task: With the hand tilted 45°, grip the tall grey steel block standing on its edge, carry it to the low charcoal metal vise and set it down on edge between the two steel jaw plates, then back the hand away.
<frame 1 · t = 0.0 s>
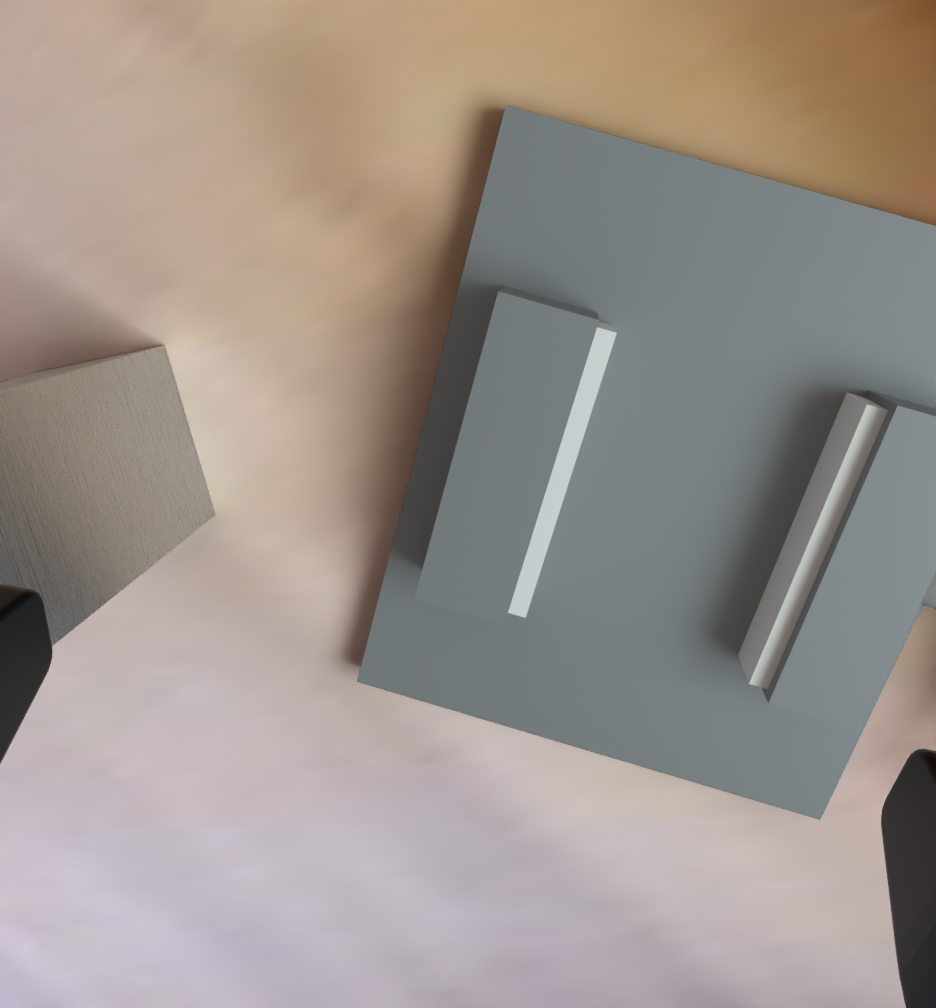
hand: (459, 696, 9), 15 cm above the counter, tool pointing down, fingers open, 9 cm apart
steel block: (126, 444, 25), on the counter
bench vise: (675, 490, 24), on the counter
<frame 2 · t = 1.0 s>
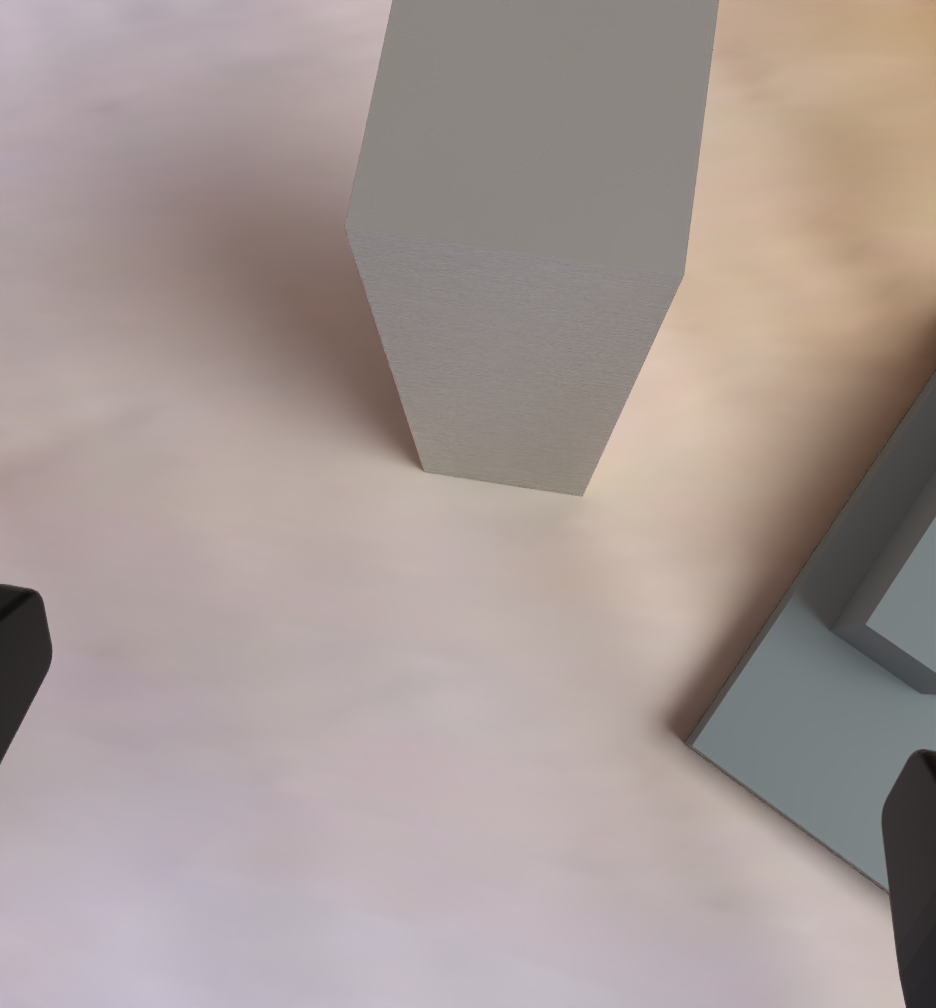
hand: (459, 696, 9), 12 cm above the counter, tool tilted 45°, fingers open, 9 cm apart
steel block: (518, 389, 23), on the counter
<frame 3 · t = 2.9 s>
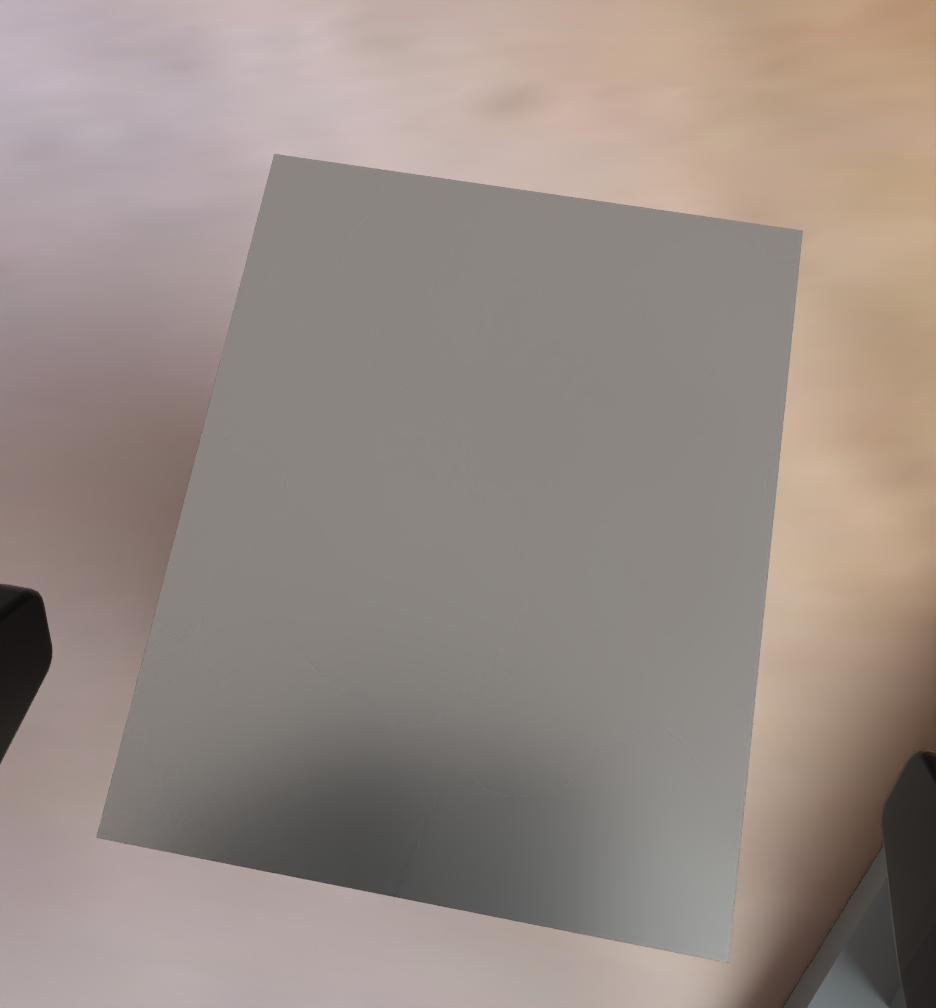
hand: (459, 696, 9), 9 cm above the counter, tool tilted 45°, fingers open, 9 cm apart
steel block: (484, 647, 18), on the counter
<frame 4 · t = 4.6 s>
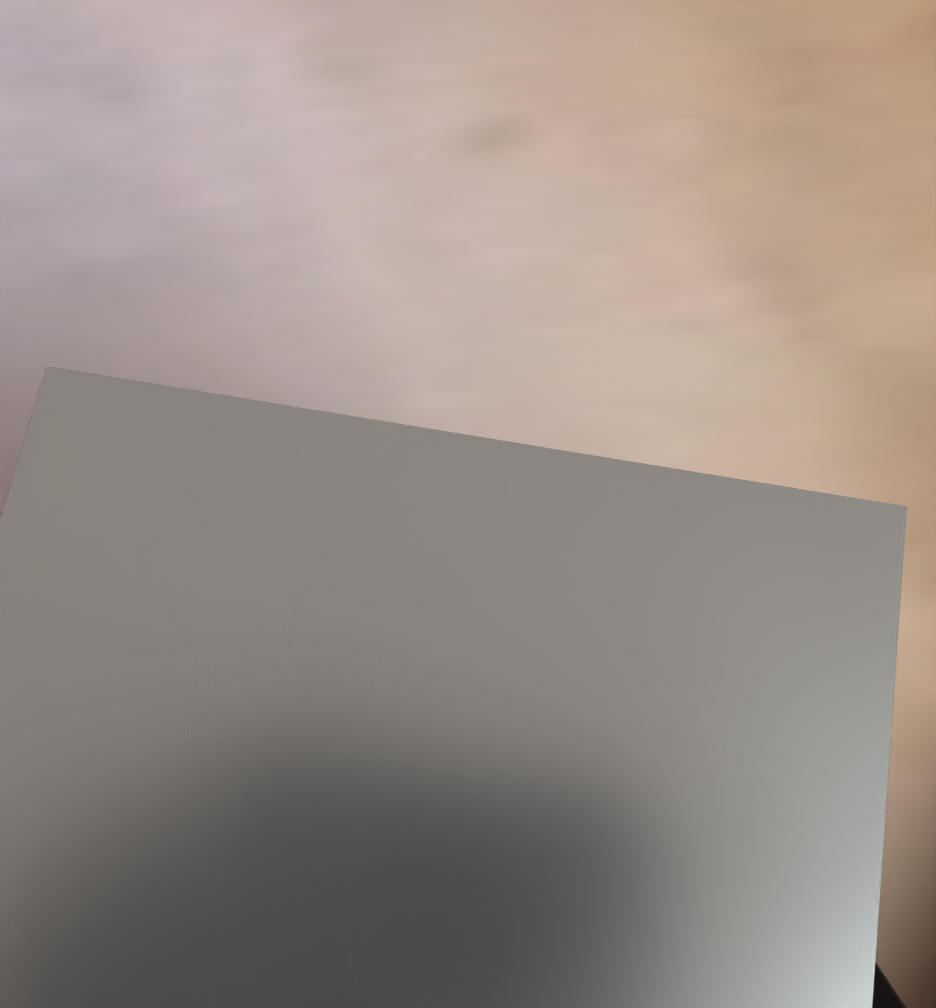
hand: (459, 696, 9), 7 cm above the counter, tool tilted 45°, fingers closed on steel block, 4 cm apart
steel block: (458, 782, 15), on the counter, touching gripper
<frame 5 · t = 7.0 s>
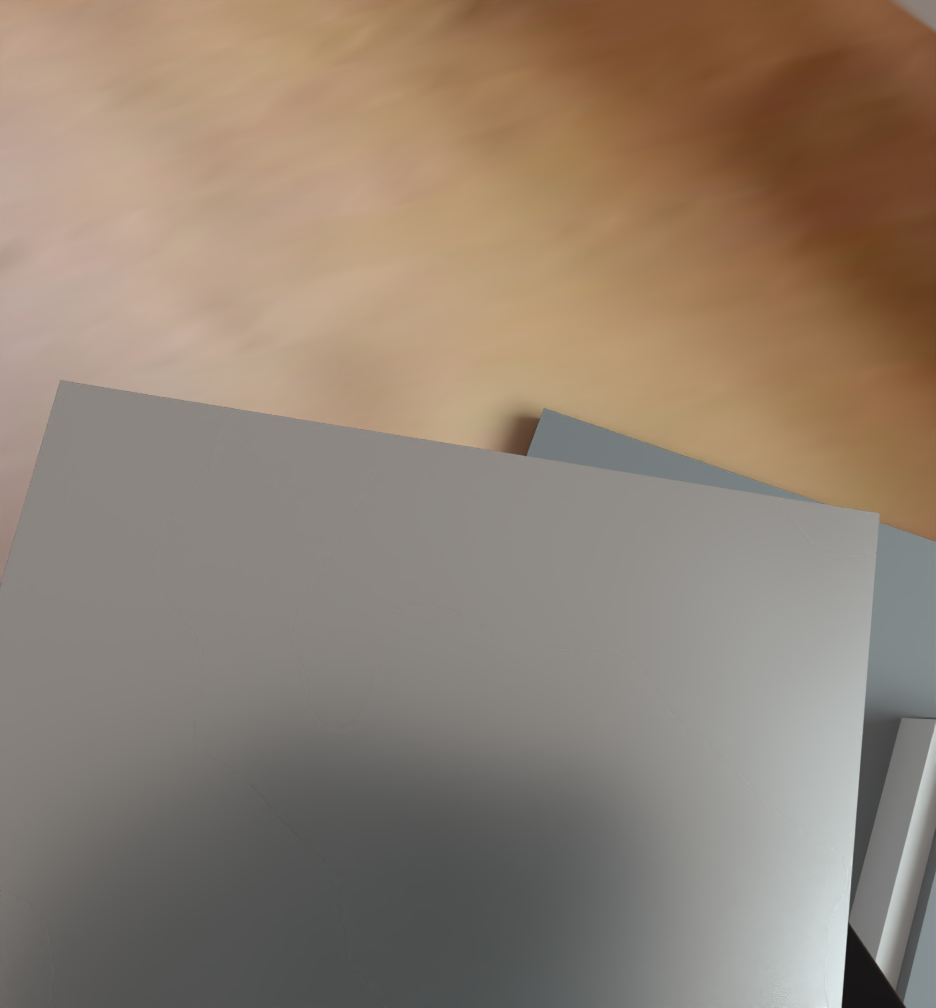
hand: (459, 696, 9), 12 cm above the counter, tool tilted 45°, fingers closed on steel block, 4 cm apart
steel block: (457, 777, 15), point 5 cm above the counter, touching gripper
bench vise: (715, 830, 20), on the counter
when the fingers open (8 cm above the counter, at t = 9.2 s): steel block stays where it is, resting on bench vise.
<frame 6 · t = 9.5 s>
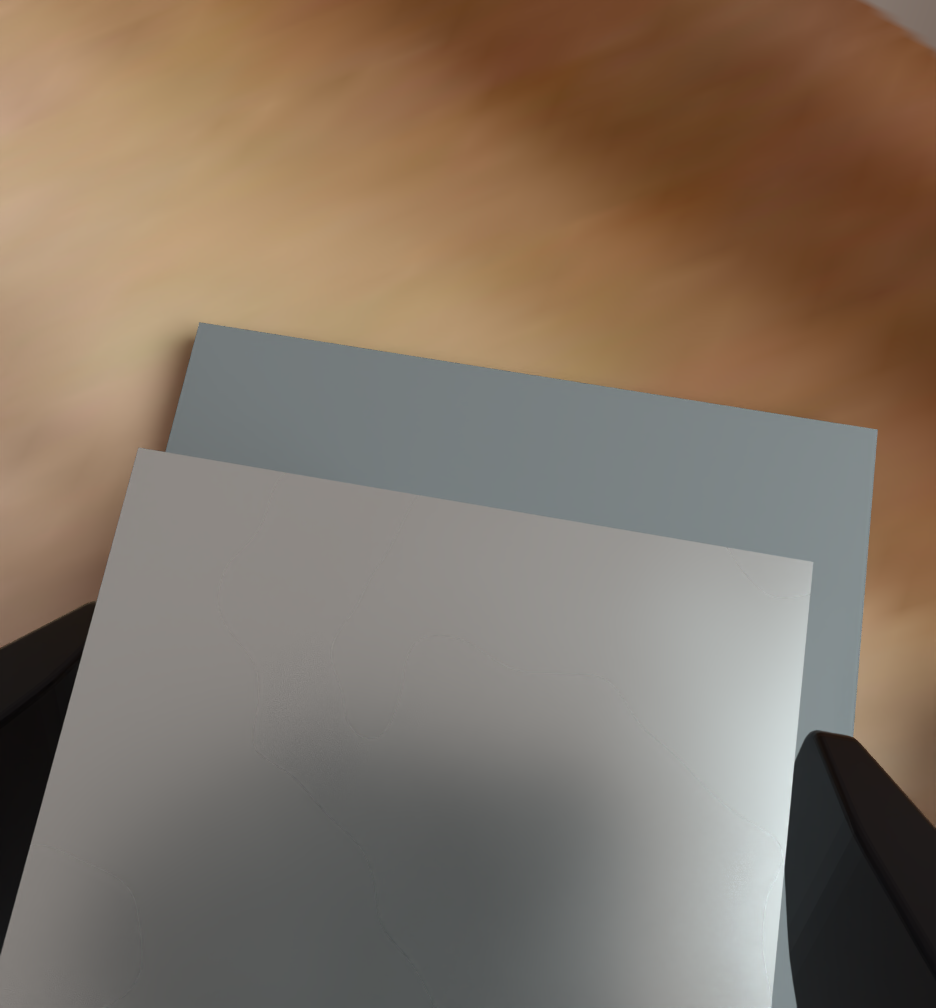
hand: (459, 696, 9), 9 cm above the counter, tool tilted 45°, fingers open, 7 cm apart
steel block: (459, 779, 16), point 1 cm above the counter, touching bench vise
bench vise: (462, 773, 17), on the counter
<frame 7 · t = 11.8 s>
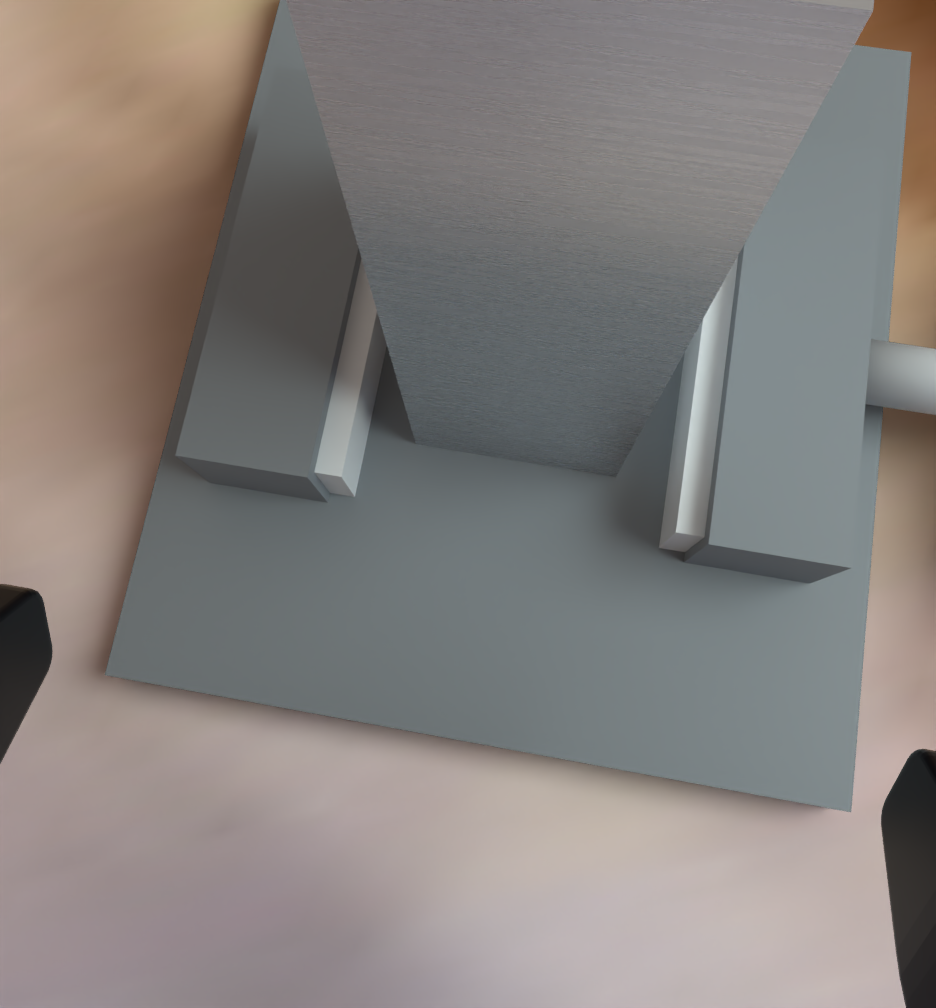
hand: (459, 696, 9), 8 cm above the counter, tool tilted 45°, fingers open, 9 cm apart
steel block: (535, 343, 18), point 1 cm above the counter, touching bench vise
bench vise: (534, 357, 19), on the counter
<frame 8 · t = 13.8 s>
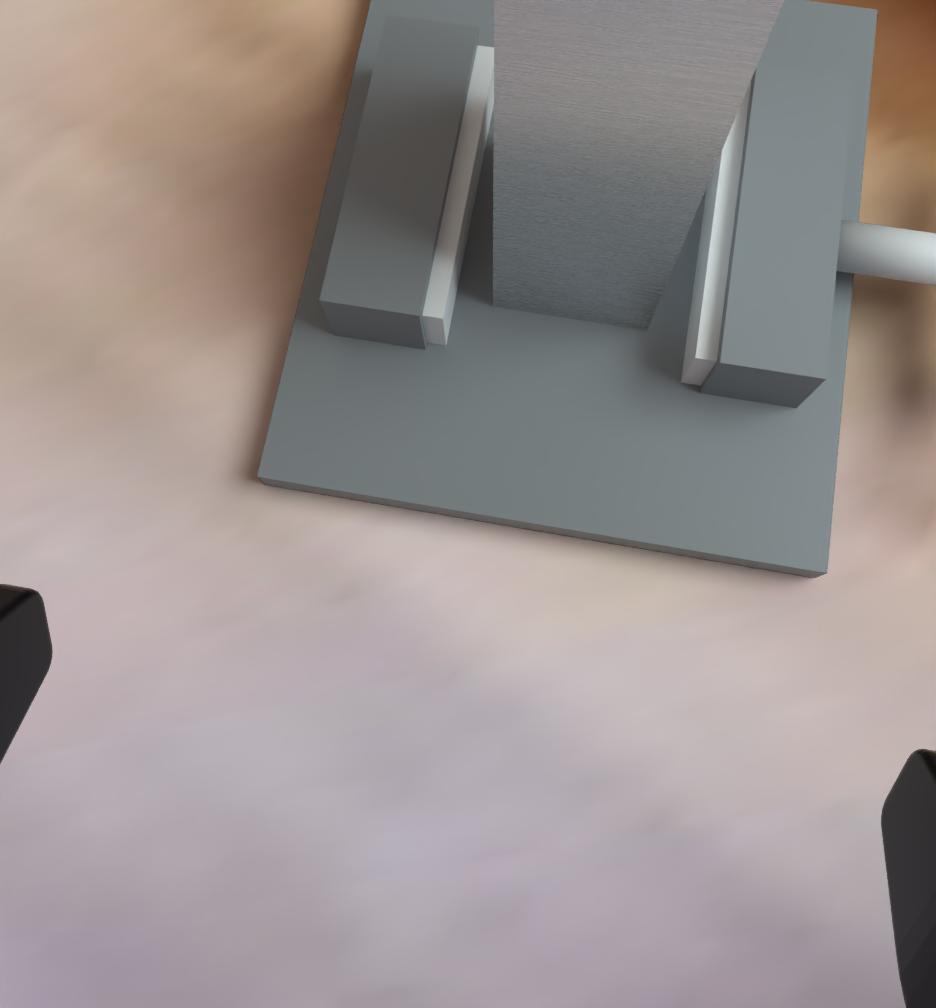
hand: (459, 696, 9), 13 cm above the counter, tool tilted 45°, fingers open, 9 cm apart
steel block: (584, 231, 23), point 1 cm above the counter, touching bench vise
bench vise: (581, 245, 24), on the counter
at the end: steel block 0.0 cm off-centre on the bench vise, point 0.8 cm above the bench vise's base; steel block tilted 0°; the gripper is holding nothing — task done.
